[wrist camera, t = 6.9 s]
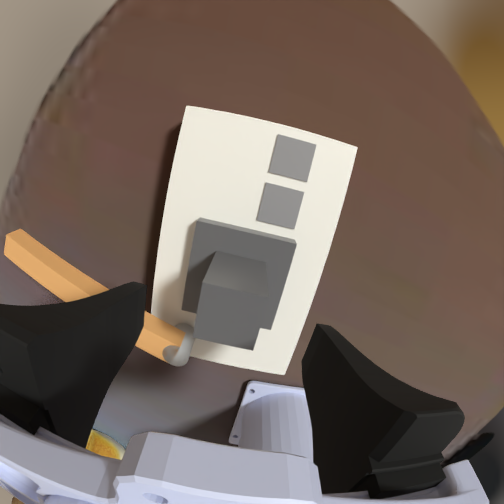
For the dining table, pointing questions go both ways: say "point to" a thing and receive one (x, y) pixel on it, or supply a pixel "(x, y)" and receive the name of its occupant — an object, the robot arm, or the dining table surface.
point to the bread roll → (104, 445)
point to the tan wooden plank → (81, 286)
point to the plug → (235, 281)
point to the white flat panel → (251, 216)
